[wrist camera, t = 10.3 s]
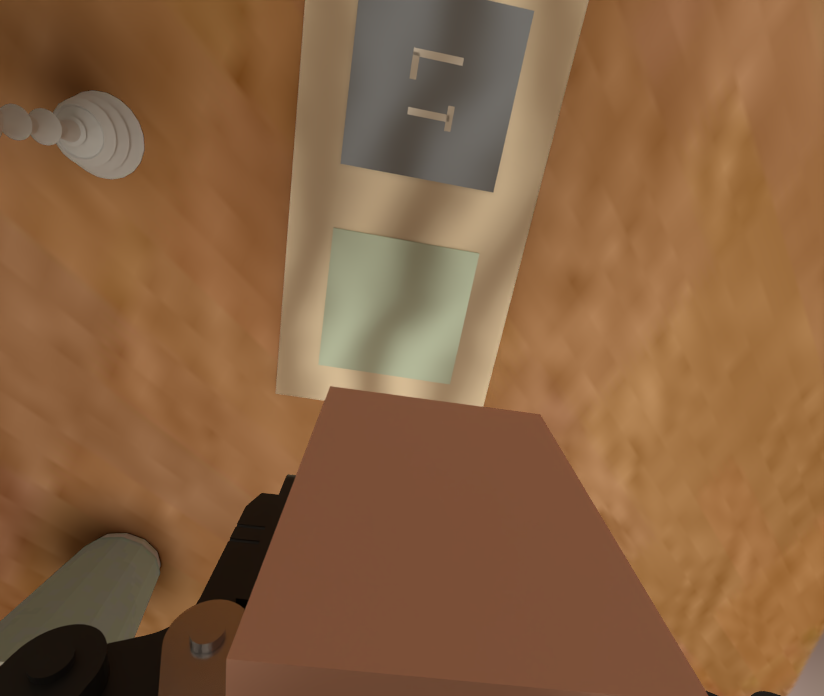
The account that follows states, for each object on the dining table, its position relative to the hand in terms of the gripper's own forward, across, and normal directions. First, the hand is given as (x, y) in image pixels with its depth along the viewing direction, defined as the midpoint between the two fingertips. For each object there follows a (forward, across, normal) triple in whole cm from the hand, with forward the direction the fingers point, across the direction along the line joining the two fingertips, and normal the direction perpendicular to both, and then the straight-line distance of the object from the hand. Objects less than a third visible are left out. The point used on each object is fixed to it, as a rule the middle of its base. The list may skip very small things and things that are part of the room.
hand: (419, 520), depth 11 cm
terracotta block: (+1, 0, 0) cm, 1 cm away
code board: (+22, +1, -7) cm, 23 cm away
